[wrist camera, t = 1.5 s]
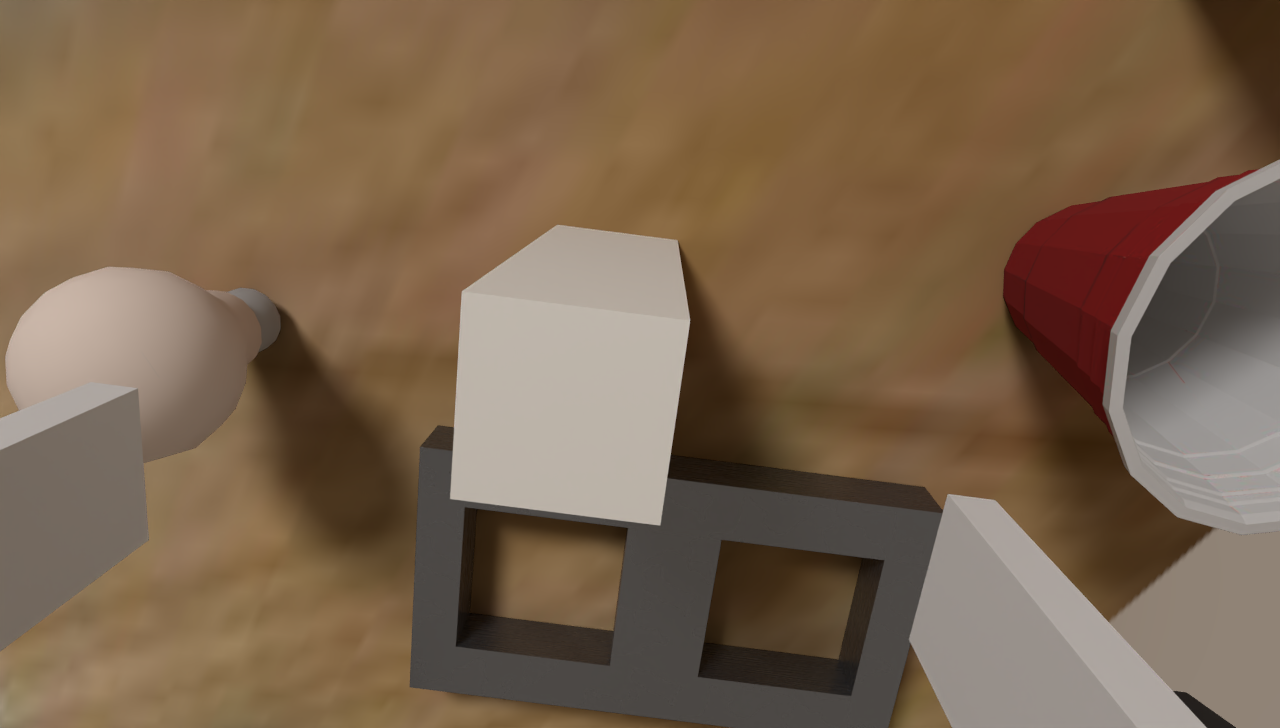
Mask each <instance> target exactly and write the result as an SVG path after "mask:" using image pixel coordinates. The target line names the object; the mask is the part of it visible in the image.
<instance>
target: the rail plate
mask: <svg viewBox="0 0 1280 728" xmlns="http://www.w3.org/2000/svg"><path fill="white" fill-rule="evenodd" d="M453 439H454V427H446V426H437V427H436V428H435V430H434V431H433V432H432V433H431V434H430V436H429V437H428V438H427V439H426V440H425V442H424V443H423V444H422V445H421V447H420V463H419V486H418V509H417V532H416V555H415V578H414V601H413V624H412V647H411V670H410V687H413V688H421V689H429V690H437V691H445V692H453V693H460V694H468V695H476V696H484V697H492V698H500V699H508V700H516V701H524V702H532V703H540V704H548V705H556V706H564V707H572V708H580V709H588V710H596V711H604V712H612V713H620V714H628V715H636V716H644V717H652V718H660V719H668V720H676V721H684V722H692V723H700V724H708V725H716V726H724V727H732V728H888V726H889V723H890V719H891V715H892V711H893V708H894V704H895V700H896V696H897V693H898V689H899V685H900V681H901V678H902V674H903V670H904V666H905V663H906V659H907V655H908V651H909V647H910V644H911V643H910V641H909V637H910V634H911V630H912V626H913V622H914V619H915V615H916V611H917V607H918V604H919V600H920V596H921V592H922V589H923V585H924V581H925V577H926V574H927V570H928V566H929V562H930V559H931V555H932V551H933V547H934V544H935V540H936V536H937V532H938V529H939V525H940V521H941V518H942V514H943V510H942V509H941V508H940V506H939V505H938V504H937V503H936V501H935V500H934V499H933V497H932V496H931V495H930V493H929V492H928V491H927V490H926V488H925V487H918V486H910V485H902V484H895V483H887V482H879V481H871V480H863V479H855V478H847V477H840V476H832V475H824V474H816V473H808V472H800V471H792V470H784V469H777V468H769V467H761V466H753V465H745V464H737V463H729V462H722V461H714V460H706V459H698V458H690V457H682V456H674V455H671V456H670V462H669V469H668V476H667V483H666V490H665V497H664V503H663V510H662V517H661V524H660V526H659V525H651V524H643V523H636V522H628V521H620V520H612V519H604V518H596V517H588V516H580V515H572V514H564V513H557V512H549V511H541V510H533V509H525V508H517V507H509V506H501V505H493V504H485V503H478V502H470V501H462V500H454V499H450V492H451V474H452V457H453ZM477 509H483V510H491V511H499V512H507V513H515V514H523V515H531V516H538V517H546V518H554V519H562V520H570V521H578V522H586V523H594V524H602V525H610V526H617V527H625V528H627V533H626V541H625V548H624V556H623V563H622V571H621V578H620V586H619V593H618V601H617V608H616V616H615V623H614V631H607V630H599V629H591V628H583V627H575V626H567V625H559V624H551V623H543V622H535V621H527V620H519V619H511V618H503V617H495V616H487V615H480V614H472V613H470V603H471V588H472V574H473V559H474V544H475V530H476V515H477ZM721 540H728V541H736V542H744V543H752V544H760V545H768V546H775V547H783V548H791V549H799V550H807V551H815V552H823V553H831V554H839V555H847V556H854V557H862V563H861V567H860V571H859V575H858V580H857V584H856V588H855V592H854V597H853V601H852V605H851V609H850V614H849V618H848V622H847V626H846V631H845V635H844V639H843V643H842V648H841V652H840V656H839V660H837V659H829V658H821V657H813V656H805V655H797V654H789V653H781V652H773V651H766V650H758V649H750V648H742V647H734V646H726V645H718V644H710V643H704V638H705V632H706V626H707V621H708V615H709V609H710V603H711V598H712V592H713V586H714V580H715V575H716V569H717V563H718V557H719V552H720V546H721Z"/></svg>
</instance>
